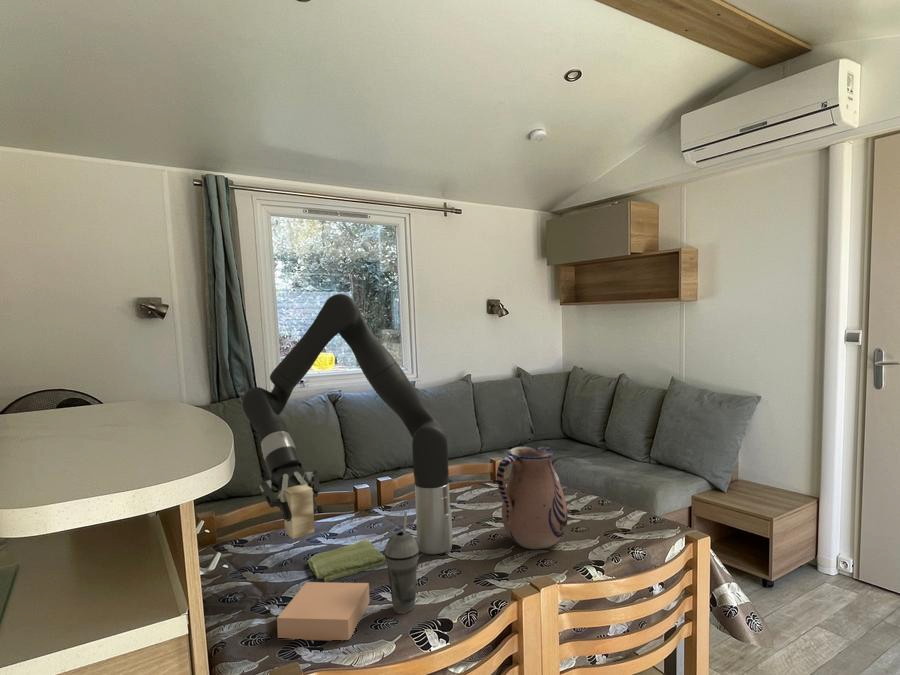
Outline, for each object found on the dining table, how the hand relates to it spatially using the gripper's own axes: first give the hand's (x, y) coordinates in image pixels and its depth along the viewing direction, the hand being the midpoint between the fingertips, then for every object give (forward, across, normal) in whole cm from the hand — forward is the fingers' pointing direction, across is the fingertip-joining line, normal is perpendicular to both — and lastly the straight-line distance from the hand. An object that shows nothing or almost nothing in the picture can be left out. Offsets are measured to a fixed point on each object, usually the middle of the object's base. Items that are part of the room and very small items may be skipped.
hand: (301, 515), depth 112 cm
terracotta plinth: (+22, -1, +3) cm, 22 cm away
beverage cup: (+27, +13, -2) cm, 30 cm away
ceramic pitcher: (+25, +56, +1) cm, 61 cm away
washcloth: (+8, +14, +18) cm, 24 cm away
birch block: (+2, 0, +4) cm, 5 cm away
